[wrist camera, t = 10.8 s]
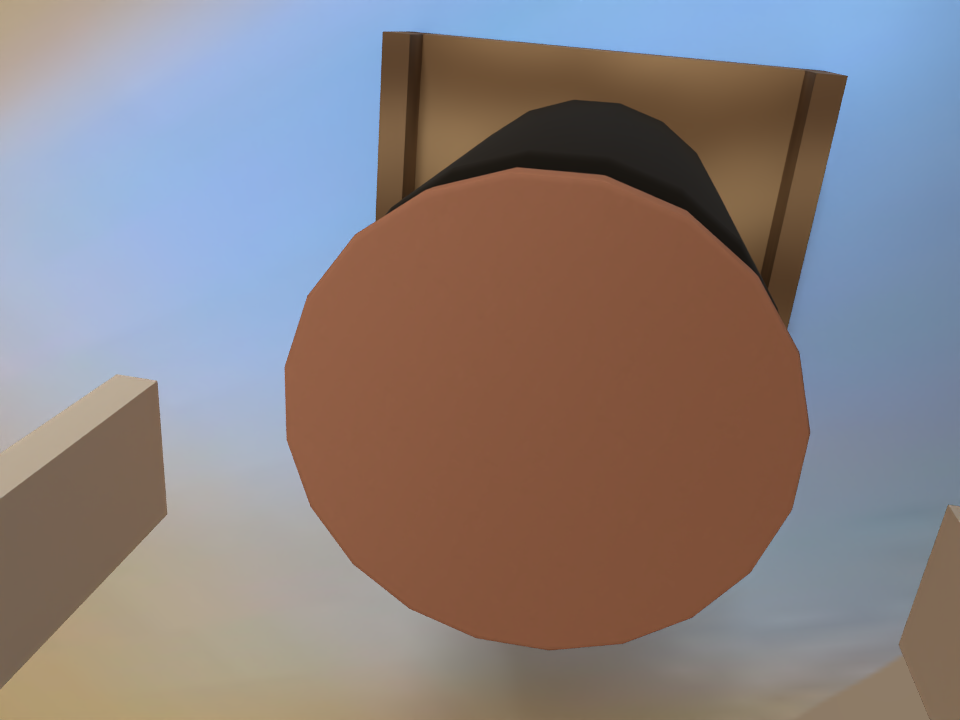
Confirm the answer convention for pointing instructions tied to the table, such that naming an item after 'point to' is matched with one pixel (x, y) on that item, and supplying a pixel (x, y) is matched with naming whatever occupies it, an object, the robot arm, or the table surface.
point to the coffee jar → (551, 388)
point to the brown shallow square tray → (641, 86)
